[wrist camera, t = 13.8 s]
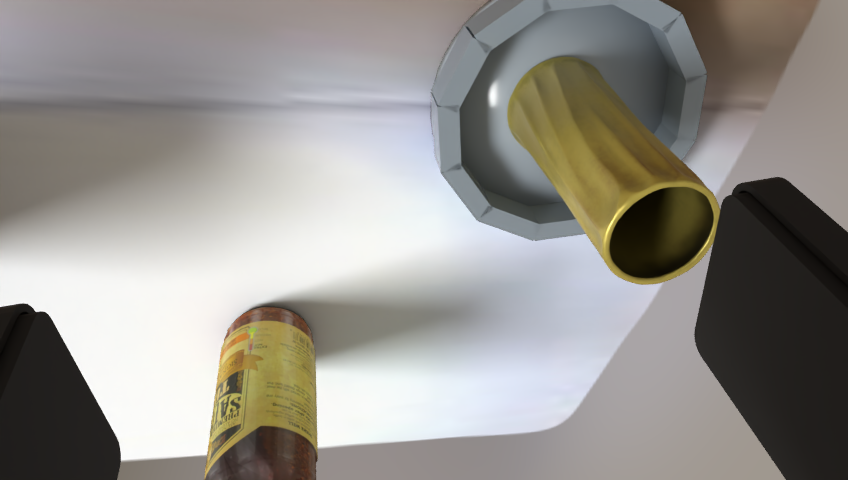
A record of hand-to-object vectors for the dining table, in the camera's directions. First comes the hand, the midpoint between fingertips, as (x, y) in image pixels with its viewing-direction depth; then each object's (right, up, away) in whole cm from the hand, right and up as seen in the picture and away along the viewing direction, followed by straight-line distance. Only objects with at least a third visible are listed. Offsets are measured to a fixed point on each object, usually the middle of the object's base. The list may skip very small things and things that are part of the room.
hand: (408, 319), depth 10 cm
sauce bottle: (-11, -6, +39) cm, 40 cm away
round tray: (+8, +9, +32) cm, 34 cm away
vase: (+8, +9, +31) cm, 33 cm away
